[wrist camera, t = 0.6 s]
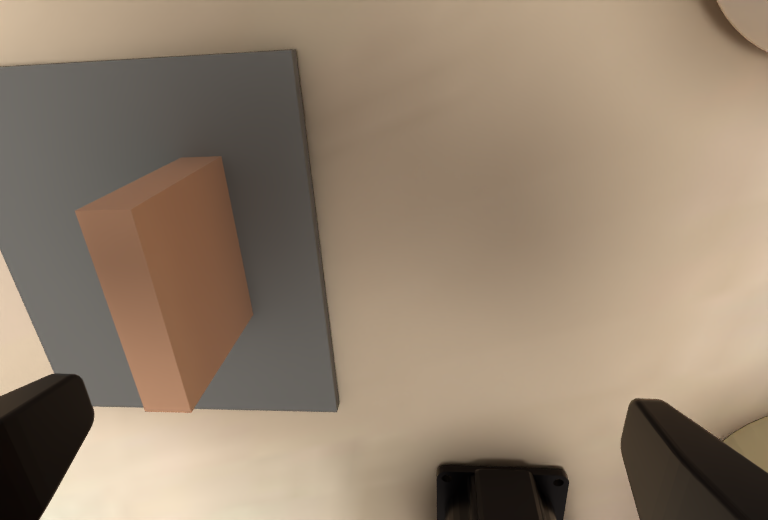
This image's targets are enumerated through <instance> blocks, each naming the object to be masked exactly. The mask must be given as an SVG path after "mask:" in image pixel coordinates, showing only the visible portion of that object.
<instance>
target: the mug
mask: <svg viewBox="0 0 768 520" xmlns="http://www.w3.org/2000/svg"><path fill="white" fill-rule="evenodd" d="M716 1H717V3H718V5H719V7H720V9H721V10H722V12H723V14H724V15H725V17H726V18H727V20H728V21H729V22H730V23H731V24H732V26H733V27H734V28H735V29H736V30H737V31H738V32H739V33H740V34H741V35H742V36H743V37H744V38H745V39H747V40H748V41H750V42H751V43H752V44H754V45H755V46H757V47H758V48H760V49H762V50H764V51H766V52H768V0H716Z"/></svg>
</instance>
